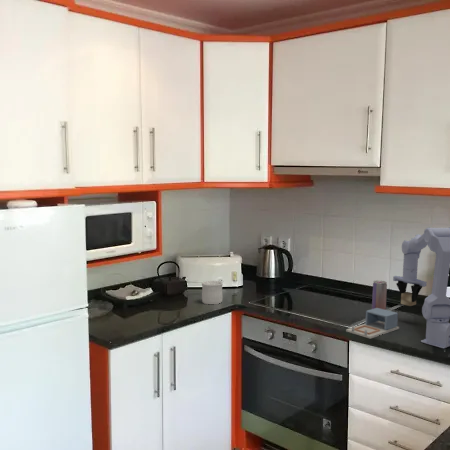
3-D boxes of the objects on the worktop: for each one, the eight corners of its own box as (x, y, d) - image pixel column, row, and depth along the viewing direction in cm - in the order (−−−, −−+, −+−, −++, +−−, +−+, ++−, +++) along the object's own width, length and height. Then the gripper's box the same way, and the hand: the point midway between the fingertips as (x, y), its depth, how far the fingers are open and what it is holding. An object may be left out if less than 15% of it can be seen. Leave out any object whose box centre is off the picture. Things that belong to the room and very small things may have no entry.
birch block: (416, 304, 232) (416, 294, 231) (410, 306, 229) (411, 295, 228) (406, 302, 235) (407, 291, 235) (400, 303, 232) (401, 293, 232)
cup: (226, 302, 262) (226, 282, 261) (211, 306, 255) (212, 285, 254) (212, 298, 269) (212, 279, 268) (197, 302, 262) (198, 282, 261)
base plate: (398, 328, 224) (399, 322, 224) (370, 338, 211) (370, 331, 211) (374, 322, 233) (375, 315, 233) (346, 331, 220) (346, 324, 220)
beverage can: (369, 314, 245) (370, 281, 243) (376, 311, 249) (377, 279, 247) (381, 317, 241) (382, 283, 239) (387, 314, 245) (389, 281, 243)
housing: (397, 326, 224) (397, 312, 224) (386, 329, 219) (386, 316, 218) (376, 320, 232) (377, 307, 231) (365, 324, 227) (365, 310, 226)
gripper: (431, 270, 227) (429, 302, 229) (400, 265, 238) (398, 295, 240) (422, 272, 223) (420, 304, 224) (391, 266, 234) (389, 297, 235)
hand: (408, 300), depth 232 cm, fingers closed on birch block, 4 cm apart
